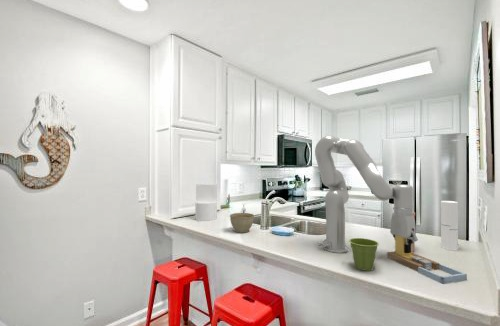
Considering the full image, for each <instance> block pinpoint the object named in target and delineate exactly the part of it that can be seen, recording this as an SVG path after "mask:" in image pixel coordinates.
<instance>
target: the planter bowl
mask: <svg viewBox="0 0 500 326" xmlns="http://www.w3.org/2000/svg"><path fill="white" fill-rule="evenodd" d="M229 217H230V224H231V226H232V228H233V229H234V232H236V233H241V234H242V233H248V232H249V231H250V229H251V227H252V225H253V223H254V219H255V218H254V217H255V215H254V214H253V213H250V212H249V213H248V212H235V213H231V214H230V215H229Z"/></svg>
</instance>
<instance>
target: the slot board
mask: <svg viewBox="0 0 500 326" xmlns="http://www.w3.org/2000/svg"><path fill="white" fill-rule="evenodd" d="M411 255H413V256H417V257H420V258H422V259H423V260H424V259H425V260H427V261H430V262H432V270H428V271H431V272H432V271H438V270H439V264H440V263H439V262H436V261H434V260H432V259H429V258H427V257H425V256H422V255H419V254H417V253H415V252H414V253H412V252H411ZM386 256H387V257H386V258H388V259H389V260H391V261H394V262H395V263H398V264H401V266H405V267H406V268H409V269H411V270H413V271H415V272H417V273H418V267H421V268H423V265H421V264H418V263H416V262H414V261H411V260H409V259H407V258H404V257H402V256H399V255H397V254H395V250H394V251H387V253H386ZM439 271H440V270H439Z"/></svg>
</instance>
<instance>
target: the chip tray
mask: <svg viewBox="0 0 500 326" xmlns="http://www.w3.org/2000/svg"><path fill="white" fill-rule="evenodd" d="M439 271H442V272H444V273H447V274H449V275H443V276H442V275H440V274H438V273H435V272H433V271H432V270H431V271H428V270H426V269H424V268H421V267H418V272H417V273H418V274H421V275H423V276H425V277H426V278H430V279H431V280H434V281H435V282H438V283H439V284H442V285H443V284H449V283H450V284H451V283H457V282H463V281H464V282H465V281H467V280H468V273H465V272H462V271H460V270H457V269H455V268H452V267H450V266H447V265H444V264H442V263H439Z"/></svg>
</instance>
